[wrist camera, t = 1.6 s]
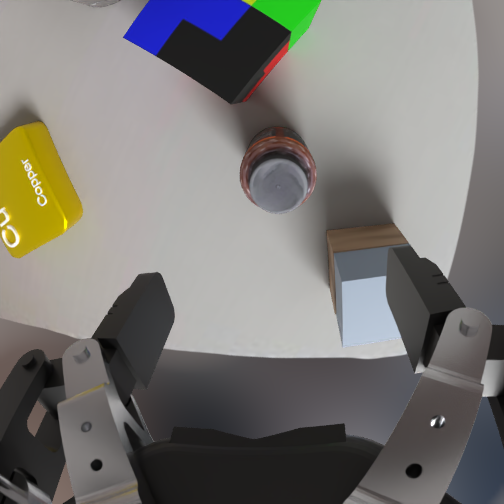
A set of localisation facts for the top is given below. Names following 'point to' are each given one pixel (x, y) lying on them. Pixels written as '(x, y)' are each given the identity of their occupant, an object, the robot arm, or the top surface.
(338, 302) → the tower top block
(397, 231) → the tower base block
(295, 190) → the supplement bottle
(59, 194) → the element tile
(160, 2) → the puzzle toy
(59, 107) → the top surface
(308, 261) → the top surface
